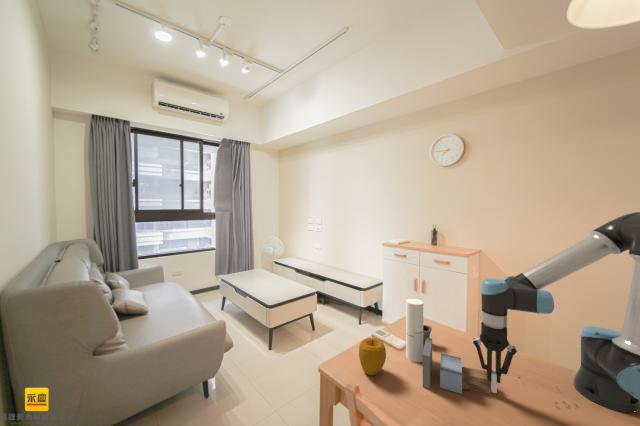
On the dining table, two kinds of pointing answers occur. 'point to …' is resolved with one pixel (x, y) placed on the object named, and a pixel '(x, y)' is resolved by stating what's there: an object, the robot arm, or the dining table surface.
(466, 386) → the wooden slab
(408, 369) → the dining table surface
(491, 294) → the robot arm
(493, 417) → the dining table surface
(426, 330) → the pipe
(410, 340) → the cylindrical container
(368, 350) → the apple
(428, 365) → the wall
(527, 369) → the dining table surface
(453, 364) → the block
